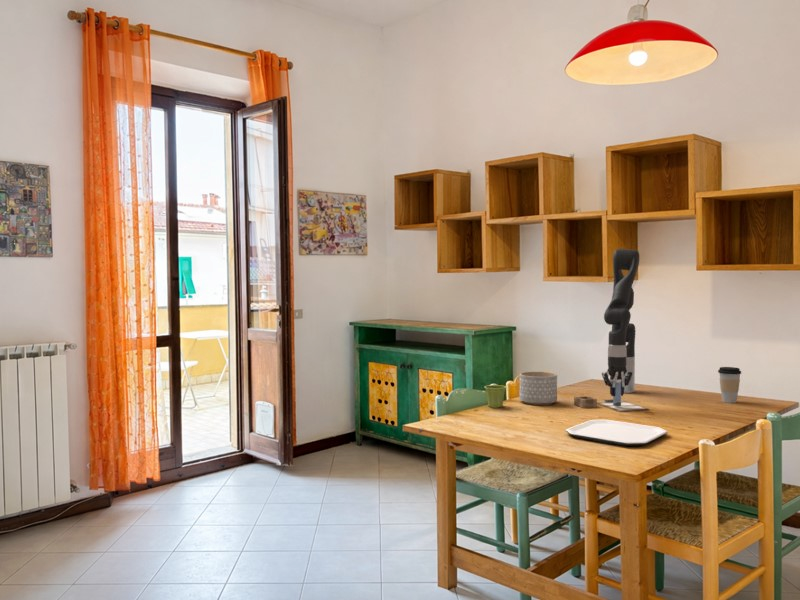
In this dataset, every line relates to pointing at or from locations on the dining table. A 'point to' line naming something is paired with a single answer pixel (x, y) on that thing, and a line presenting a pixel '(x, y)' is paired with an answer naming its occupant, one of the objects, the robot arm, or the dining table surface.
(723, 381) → the coffee cup
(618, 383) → the marker
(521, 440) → the dining table surface
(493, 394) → the plant pot
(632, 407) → the clipboard
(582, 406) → the pen block
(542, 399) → the planter
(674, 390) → the dining table surface
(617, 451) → the dining table surface
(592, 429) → the plate
